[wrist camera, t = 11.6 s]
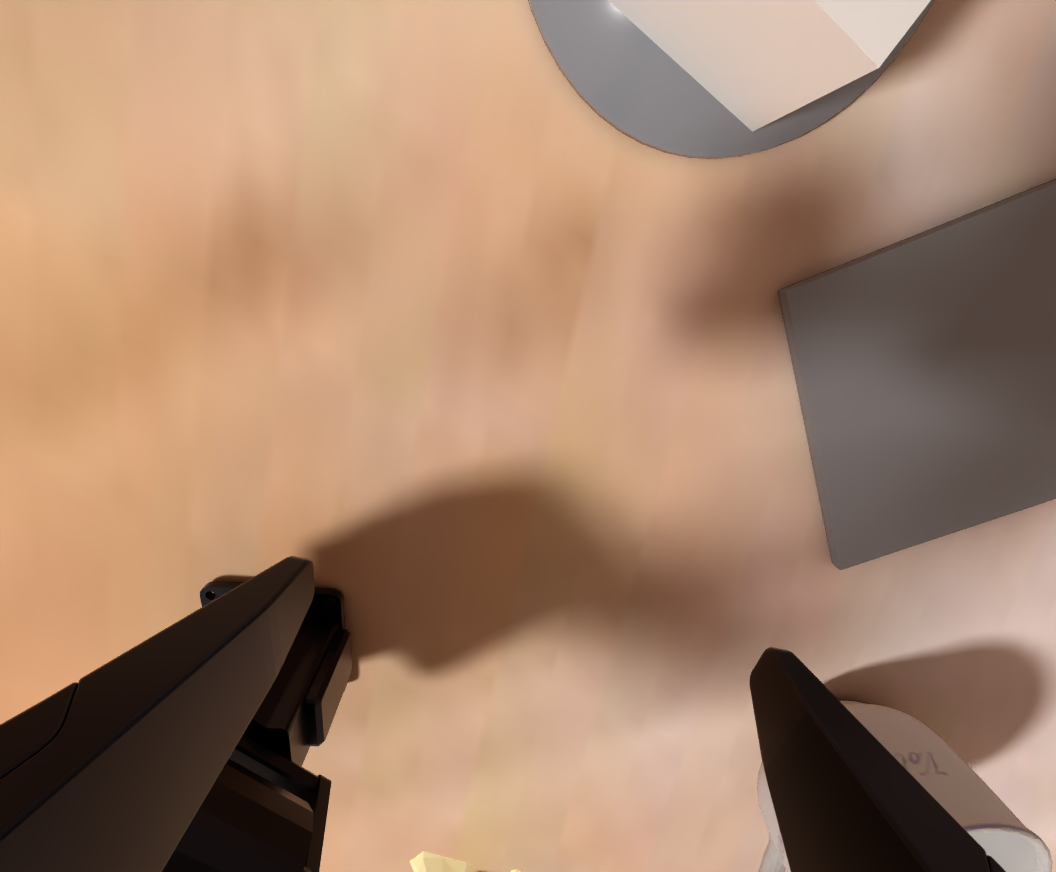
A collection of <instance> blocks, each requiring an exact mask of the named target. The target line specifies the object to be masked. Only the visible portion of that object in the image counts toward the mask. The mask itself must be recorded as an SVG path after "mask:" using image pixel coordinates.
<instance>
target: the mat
mask: <svg viewBox="0 0 1056 872" xmlns="http://www.w3.org/2000/svg"><path fill="white" fill-rule="evenodd" d="M778 293H779V298H780V303H781V308H782V313H783V318H784V323H785V328H786V334H787V339H788V344H789V349H790V354H791V359H792V364H793V369H794V374H795V379H796V384H797V389H798V394H799V399H800V404H801V409H802V414H803V419H804V424H805V429H806V434H807V439H808V444H809V449H810V454H811V459H812V464H813V469H814V474H815V479H816V484H817V489H818V494H819V499H820V504H821V509H822V514H823V519H824V524H825V529H826V534H827V539H828V544H829V550H830V555H831V560H832V563H833V564H834V565H835V566H836V567H837V568H838V569H839V570H842V569H845V568H848V567H851V566H854V565H858V564H861V563H864V562H867V561H870V560H873V559H876V558H879V557H882V556H885V555H888V554H891V553H894V552H897V551H900V550H903V549H906V548H909V547H912V546H915V545H918V544H921V543H924V542H927V541H930V540H933V539H936V538H939V537H942V536H945V535H948V534H951V533H954V532H957V531H960V530H963V529H966V528H969V527H972V526H975V525H978V524H981V523H984V522H987V521H990V520H993V519H996V518H999V517H1002V516H1005V515H1008V514H1011V513H1014V512H1017V511H1020V510H1023V509H1026V508H1029V507H1032V506H1035V505H1038V504H1041V503H1044V502H1047V501H1050V500H1053V499H1056V179H1055V180H1052V181H1050V182H1047V183H1045V184H1042V185H1040V186H1037V187H1035V188H1032V189H1030V190H1027V191H1025V192H1022V193H1020V194H1017V195H1015V196H1012V197H1010V198H1007V199H1005V200H1002V201H1000V202H997V203H995V204H992V205H990V206H987V207H985V208H982V209H980V210H977V211H975V212H972V213H970V214H968V215H965V216H963V217H960V218H958V219H955V220H953V221H950V222H948V223H945V224H943V225H940V226H938V227H935V228H933V229H930V230H928V231H925V232H923V233H920V234H918V235H915V236H913V237H910V238H908V239H905V240H903V241H900V242H898V243H895V244H893V245H890V246H888V247H885V248H883V249H880V250H878V251H875V252H873V253H870V254H868V255H865V256H863V257H860V258H858V259H855V260H853V261H851V262H848V263H846V264H843V265H841V266H838V267H836V268H833V269H831V270H828V271H826V272H823V273H821V274H818V275H816V276H813V277H811V278H808V279H806V280H803V281H801V282H798V283H796V284H793V285H791V286H788V287H786V288H783V289H781V290H778Z"/></svg>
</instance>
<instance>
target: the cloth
mask: <svg viewBox="0 0 1056 872" xmlns="http://www.w3.org/2000/svg"><path fill="white" fill-rule="evenodd" d="M410 863H411V866H412V868H413V870H414V872H479V871H477V870H476V869H474V868H473V867H472V866H471V865H469V864H468V863H466V862H463V861H459V860H455V859H451V858H447V857H443V856H440V855H436V854H433V853H429V852H425V851H423V852H422V853H420V854H419V855H418V856H416V857H415V858H413V859H412V860H410ZM511 872H522V871H519V870H516V869H514V870H512V871H511Z"/></svg>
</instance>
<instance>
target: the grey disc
mask: <svg viewBox="0 0 1056 872" xmlns="http://www.w3.org/2000/svg"><path fill="white" fill-rule="evenodd" d="M528 1H529V4H530V8H531V11H532V13H533V16H534V18H535V21H536V23H537V25H538V28H539V30H540V33H541V35H542V37H543V40H544V42H545V44H546V46H547V48H548V49H549V51H550V53H551V55H552V56H553V58H554V60H555V62H556V64H557V65H558V67H559V69H560V70H561V72H562V73H563V75H564V76H565V77H566V79H567V80H568V81H569V83H570V84H571V85H572V87H573V88H574V90H575V91H576V92H577V94H578V95H579V96H580V97H581V98H582V99H583V100H584V101H585V102H586V103H587V104H588V105H589V106H590V107H591V108H592V109H593V110H594V111H595V112H596V113H597V114H598V115H599V116H600V117H602V118H603V119H604V120H605V121H607V122H608V123H609V124H611V125H612V126H613V127H614V128H616V129H617V130H618V131H620V132H622V133H623V134H625V135H627V136H629V137H630V138H632V139H634V140H636V141H637V142H639V143H641V144H643V145H646V146H649V147H651V148H654V149H657V150H659V151H662V152H665V153H669V154H674V155H679V156H684V157H688V158H704V159H721V158H730V157H740V156H744V155H748V154H752V153H756V152H760V151H764V150H768V149H770V148H773V147H775V146H778V145H780V144H783V143H785V142H788V141H790V140H793V139H795V138H798V137H799V136H801V135H803V134H805V133H807V132H808V131H810V130H812V129H814V128H816V127H817V126H819V125H821V124H823V123H824V122H826V121H827V120H829V119H830V118H831V117H833V116H834V115H835V114H837V113H838V112H840V111H841V110H842V109H844V108H845V107H847V106H848V105H849V104H850V103H851V102H853V101H854V100H855V99H856V98H857V97H858V96H859V95H860V94H861V93H862V92H864V91H865V90H866V89H867V88H868V87H869V86H870V85H871V84H872V83H873V82H874V81H875V80H876V79H877V78H878V77H879V76H880V75H881V73H882V72H883V71H884V70H885V69H886V68H887V67H888V66H889V65H890V63H891V62H892V61H893V60H894V59H895V58H896V57H897V55H898V54H899V53H900V51H901V50H902V48H903V47H904V46H905V44H906V43H907V42H908V40H909V39H910V38H911V36H912V35H913V34H914V32H915V31H916V29H917V28H918V26H919V25H920V23H921V21H922V20H923V18H924V16H925V15H926V13H927V11H928V10H929V8H930V6H931V5H932V3H933V1H934V0H931V1H930V2H929V3H928V5H927V6H926V7H925V9H924V10H923V11H922V12H921V14H920V15H919V16H918V18H917V19H916V20H915V22H914V23H913V24H912V25H911V27H910V28H909V29H908V31H907V32H906V33H905V35H904V36H903V37H902V39H901V40H900V41H899V42H898V44H897V45H896V46H895V48H894V49H893V50H892V52H891V53H890V54H889V56H888V57H887V58H886V59H885V61H884V62H883V63H882V65H881V66H880V67H879V68H878V69H876V70H874V71H872V72H870V73H868V74H866V75H864V76H862V77H860V78H858V79H856V80H854V81H852V82H850V83H848V84H846V85H844V86H842V87H840V88H838V89H836V90H834V91H832V92H830V93H828V94H826V95H824V96H822V97H820V98H818V99H816V100H814V101H812V102H810V103H808V104H806V105H804V106H802V107H801V108H799V109H797V110H795V111H793V112H791V113H789V114H787V115H785V116H783V117H781V118H779V119H777V120H775V121H773V122H771V123H769V124H767V125H765V126H763V127H761V128H759V129H757V130H755V131H753V132H752V131H751V130H750V129H749V128H748V127H747V126H746V125H745V124H743V123H742V122H741V121H740V120H739V119H738V118H737V117H736V116H735V115H734V114H732V113H731V112H730V111H729V110H728V109H727V108H726V107H725V106H724V105H723V104H721V103H720V102H719V101H718V100H717V99H716V98H715V97H714V96H713V95H712V94H710V93H709V92H708V91H707V90H706V89H705V88H704V87H703V86H702V85H701V84H699V83H698V82H697V81H696V80H695V79H694V78H693V77H692V76H691V75H690V74H688V73H687V72H686V71H685V70H684V69H683V68H682V67H681V66H680V65H679V64H677V63H676V62H675V61H674V60H673V59H672V58H671V57H670V56H669V55H668V54H666V53H665V52H664V51H663V50H662V49H661V48H660V47H659V46H658V45H657V44H655V43H654V42H653V41H652V40H651V39H650V38H649V37H648V36H647V35H646V34H644V33H643V32H642V31H641V30H640V29H639V28H638V27H637V26H636V25H635V24H633V23H632V22H631V21H630V20H629V19H628V18H627V17H626V16H625V15H624V14H622V13H621V12H620V11H619V10H618V9H617V8H616V7H615V6H614V5H613V4H611V3H610V2H609V1H608V0H528Z"/></svg>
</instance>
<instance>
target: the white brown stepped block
mask: <svg viewBox="0 0 1056 872" xmlns="http://www.w3.org/2000/svg"><path fill="white" fill-rule="evenodd" d="M608 1H609V2H610V3H611V4H613V5H614V6H615V7H616V8H617V9H618V10H619V11H620V12H621V13H622V14H624V15H625V16H626V17H627V18H628V19H629V20H630V21H631V22H632V23H633V24H635V25H636V26H637V27H638V28H639V29H640V30H641V31H642V32H643V33H644V34H646V35H647V36H648V37H649V38H650V39H651V40H652V41H653V42H654V43H655V44H657V45H658V46H659V47H660V48H661V49H662V50H663V51H664V52H665V53H666V54H668V55H669V56H670V57H671V58H672V59H673V60H674V61H675V62H676V63H677V64H679V65H680V66H681V67H682V68H683V69H684V70H685V71H686V72H687V73H688V74H690V75H691V76H692V77H693V78H694V79H695V80H696V81H697V82H698V83H699V84H701V85H702V86H703V87H704V88H705V89H706V90H707V91H708V92H709V93H710V94H712V95H713V96H714V97H715V98H716V99H717V100H718V101H719V102H720V103H721V104H723V105H724V106H725V107H726V108H727V109H728V110H729V111H730V112H731V113H732V114H734V115H735V116H736V117H737V118H738V119H739V120H740V121H741V122H742V123H743V124H745V125H746V126H747V127H748V128H749V129H750V130H751V131H752V132H753V131H755V130H757V129H759V128H761V127H763V126H765V125H767V124H769V123H771V122H773V121H775V120H777V119H779V118H781V117H783V116H785V115H787V114H789V113H791V112H793V111H795V110H797V109H799V108H801V107H802V106H804V105H806V104H808V103H810V102H812V101H814V100H816V99H818V98H820V97H822V96H824V95H826V94H828V93H830V92H832V91H834V90H836V89H838V88H840V87H842V86H844V85H846V84H848V83H850V82H852V81H854V80H856V79H858V78H860V77H862V76H864V75H866V74H868V73H870V72H872V71H874V70H876V69H878V68H879V67H880V66H881V65H882V63H883V62H884V61H885V59H886V58H887V57H888V56H889V54H890V53H891V52H892V50H893V49H894V48H895V46H896V45H897V44H898V42H899V41H900V40H901V39H902V37H903V36H904V35H905V33H906V32H907V31H908V29H909V28H910V27H911V25H912V24H913V23H914V22H915V20H916V19H917V18H918V16H919V15H920V14H921V12H922V11H923V10H924V9H925V7H926V6H927V5H928V3H929V2H930V1H931V0H608Z"/></svg>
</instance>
